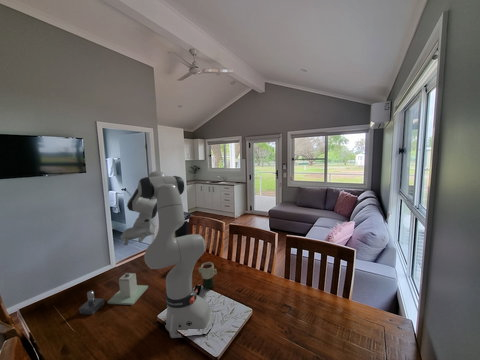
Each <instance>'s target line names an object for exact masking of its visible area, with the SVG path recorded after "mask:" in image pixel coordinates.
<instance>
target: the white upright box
mask: <svg viewBox="0 0 480 360" xmlns="http://www.w3.org/2000/svg"><path fill="white" fill-rule="evenodd" d="M137 282H138V281H137V275H136V273H135V272H126V273H124V274H123V275H122V276H120V277H119V278H118V285H119V290H120V296H121V297H131V296H132V295H133V294H134V293H135V292H136V291H137V285H138V283H137Z"/></svg>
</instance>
